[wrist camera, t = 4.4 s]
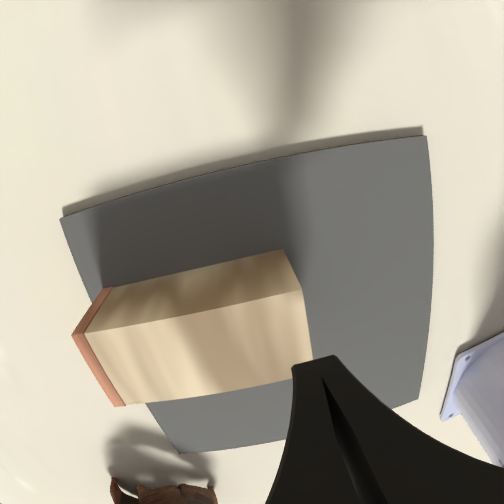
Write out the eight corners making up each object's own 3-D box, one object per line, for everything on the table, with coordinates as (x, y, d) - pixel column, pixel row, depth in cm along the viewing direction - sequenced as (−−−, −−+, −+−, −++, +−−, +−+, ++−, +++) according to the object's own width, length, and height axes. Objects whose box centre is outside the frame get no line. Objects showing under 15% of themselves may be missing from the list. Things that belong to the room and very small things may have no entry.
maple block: (302, 288, 11) (71, 335, 11) (315, 374, 12) (114, 406, 12) (282, 247, 15) (102, 288, 15) (296, 321, 16) (132, 353, 16)
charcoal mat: (422, 135, 13) (426, 135, 13) (416, 395, 20) (418, 398, 20) (63, 217, 14) (59, 219, 13) (179, 449, 20) (179, 454, 20)
